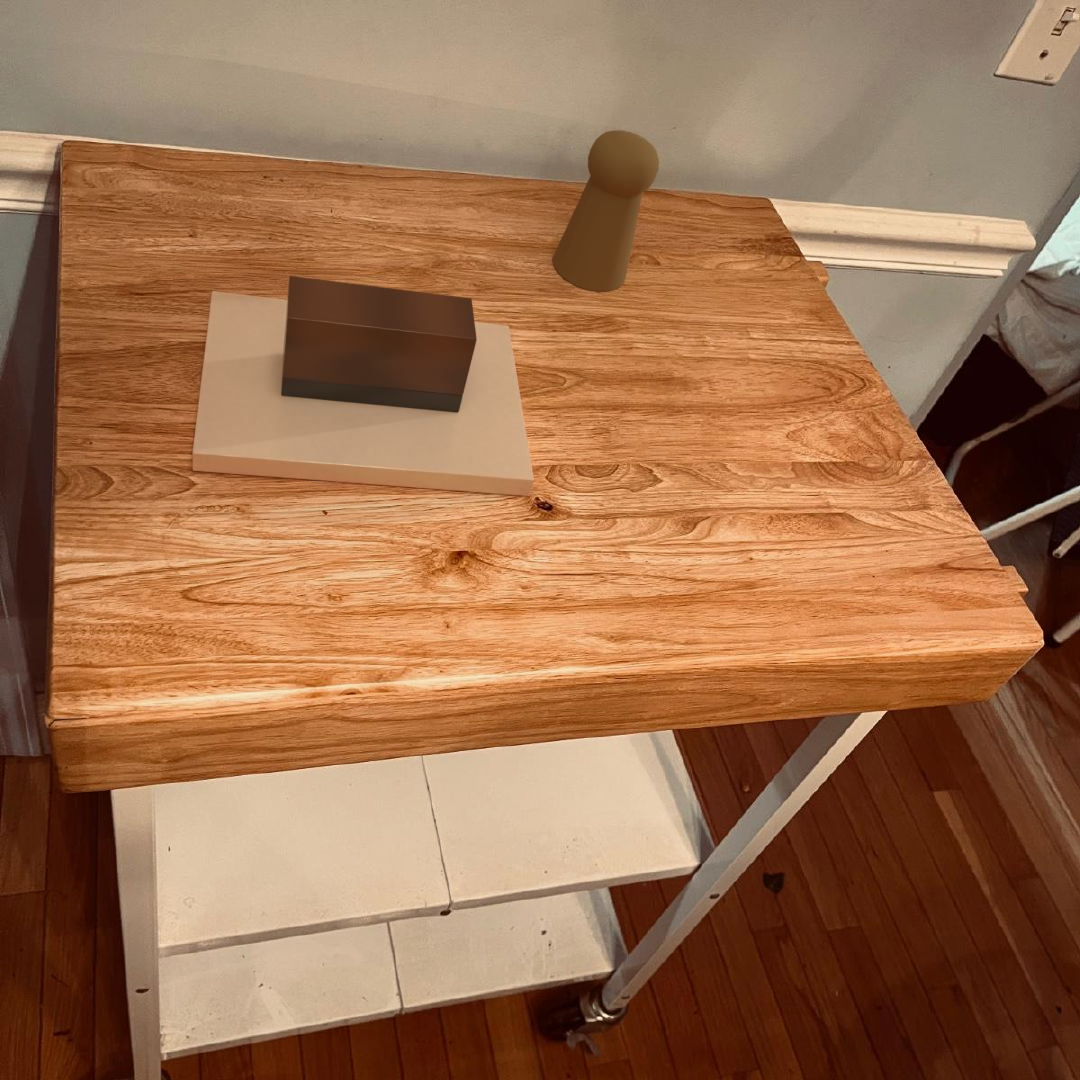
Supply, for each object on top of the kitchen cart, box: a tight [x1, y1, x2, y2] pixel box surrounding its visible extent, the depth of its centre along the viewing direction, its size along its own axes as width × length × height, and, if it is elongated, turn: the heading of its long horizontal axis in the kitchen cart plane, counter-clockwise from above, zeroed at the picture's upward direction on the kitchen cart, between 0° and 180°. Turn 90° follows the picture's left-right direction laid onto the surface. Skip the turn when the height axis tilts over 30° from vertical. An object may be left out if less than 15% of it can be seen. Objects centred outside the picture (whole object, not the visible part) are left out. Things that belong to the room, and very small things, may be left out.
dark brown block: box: [281, 275, 477, 413], centre depth 65 cm, size 11×4×6 cm, turn 98°
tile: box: [191, 290, 535, 497], centre depth 68 cm, size 20×15×2 cm
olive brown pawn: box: [552, 129, 660, 293], centre depth 81 cm, size 6×6×11 cm
